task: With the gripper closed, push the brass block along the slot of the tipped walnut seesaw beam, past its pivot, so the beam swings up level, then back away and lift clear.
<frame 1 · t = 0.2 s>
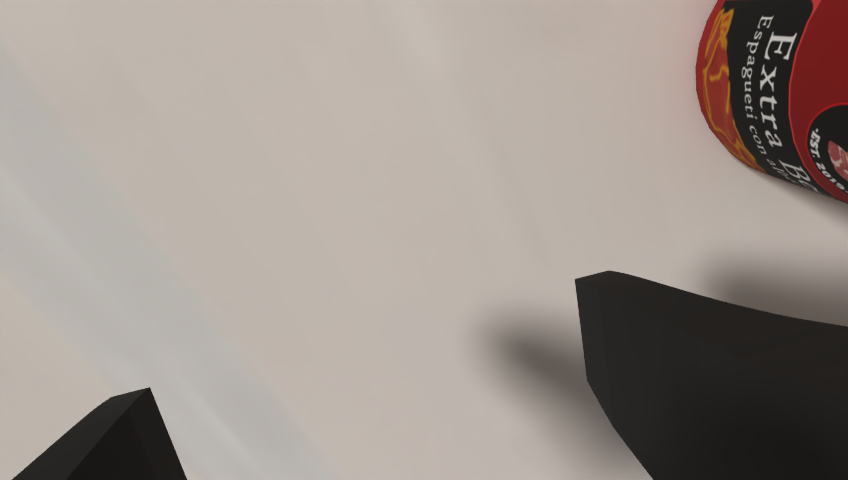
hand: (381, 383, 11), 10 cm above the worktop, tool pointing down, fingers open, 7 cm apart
canned food: (797, 53, 21), on the worktop
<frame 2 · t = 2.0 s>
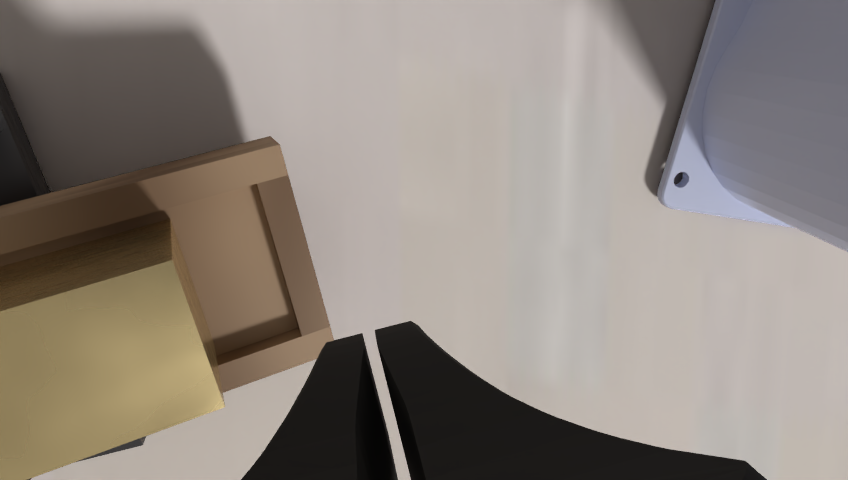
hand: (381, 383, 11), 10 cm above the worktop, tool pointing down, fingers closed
rider: (70, 320, 16), point 4 cm above the worktop, tilted 13°
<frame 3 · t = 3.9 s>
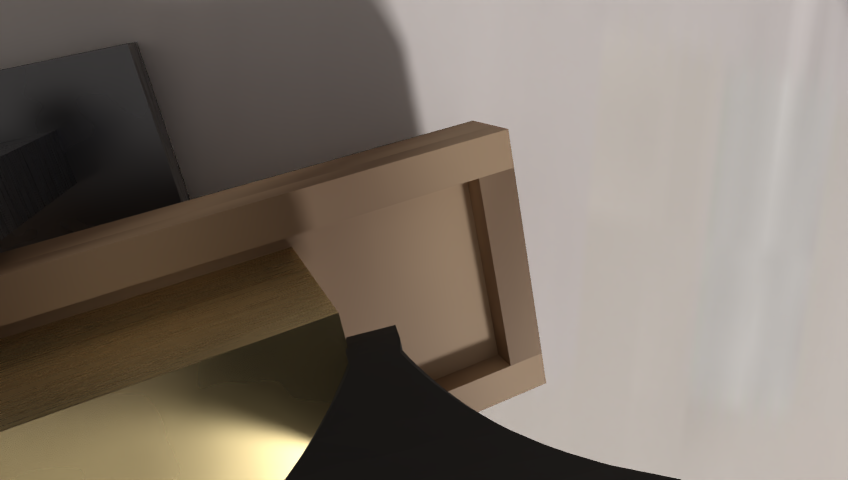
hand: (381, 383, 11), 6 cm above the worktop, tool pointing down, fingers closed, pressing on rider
beam: (33, 413, 12), point 4 cm above the worktop, hinge at -12.5°, touching rider
rider: (163, 382, 12), point 4 cm above the worktop, tilted 13°, touching beam, gripper
stand: (98, 313, 16), on the worktop
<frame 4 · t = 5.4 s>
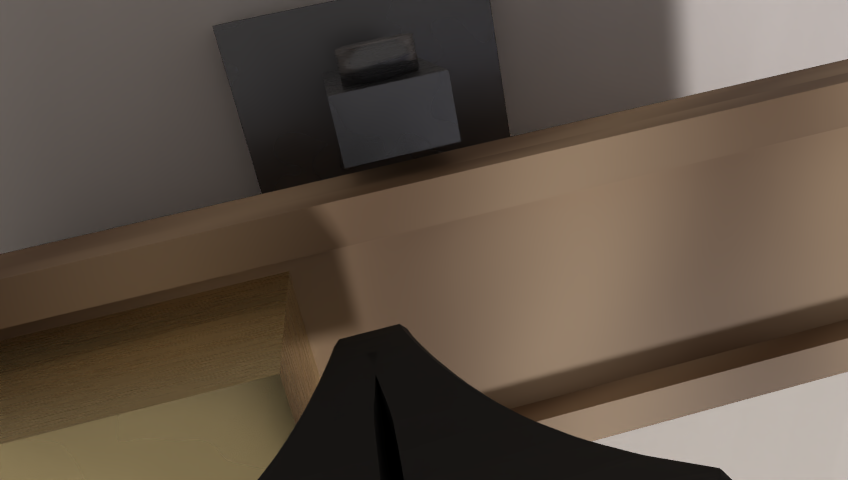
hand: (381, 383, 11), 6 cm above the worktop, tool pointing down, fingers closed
beam: (432, 313, 13), point 4 cm above the worktop, hinge at 0.5°, touching rider
rider: (152, 399, 12), point 5 cm above the worktop, touching beam, gripper
stand: (402, 240, 17), on the worktop
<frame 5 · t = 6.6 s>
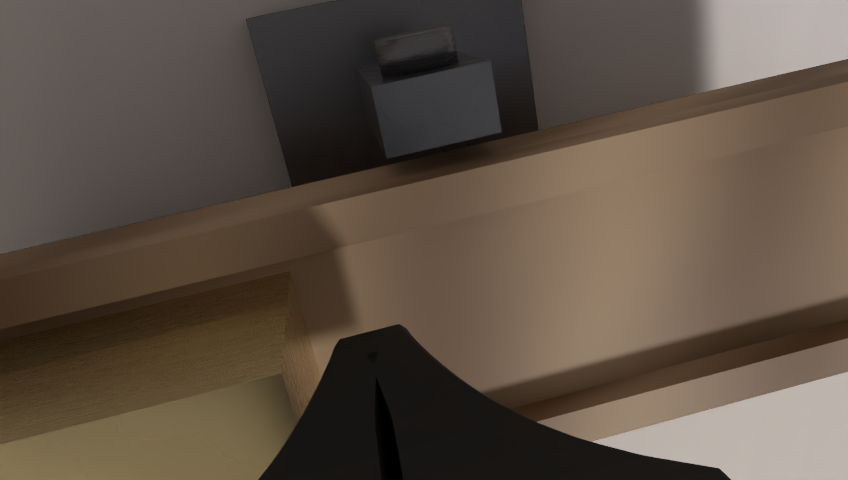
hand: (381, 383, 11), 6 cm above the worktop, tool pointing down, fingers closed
beam: (467, 304, 13), point 4 cm above the worktop, hinge at 0.5°, touching rider
rider: (153, 399, 12), point 5 cm above the worktop, touching beam, gripper
stand: (429, 234, 17), on the worktop
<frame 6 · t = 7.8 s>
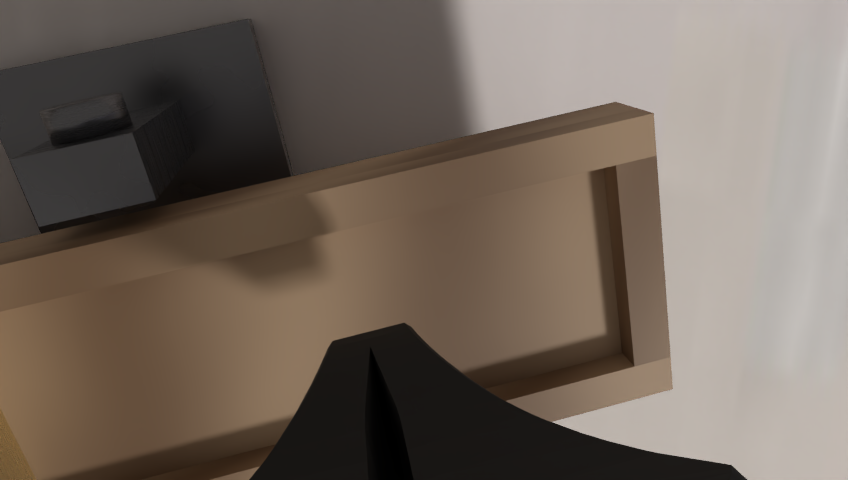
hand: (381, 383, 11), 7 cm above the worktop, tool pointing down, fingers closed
beam: (170, 358, 13), point 4 cm above the worktop, hinge at 0.5°, touching rider
stand: (202, 276, 17), on the worktop
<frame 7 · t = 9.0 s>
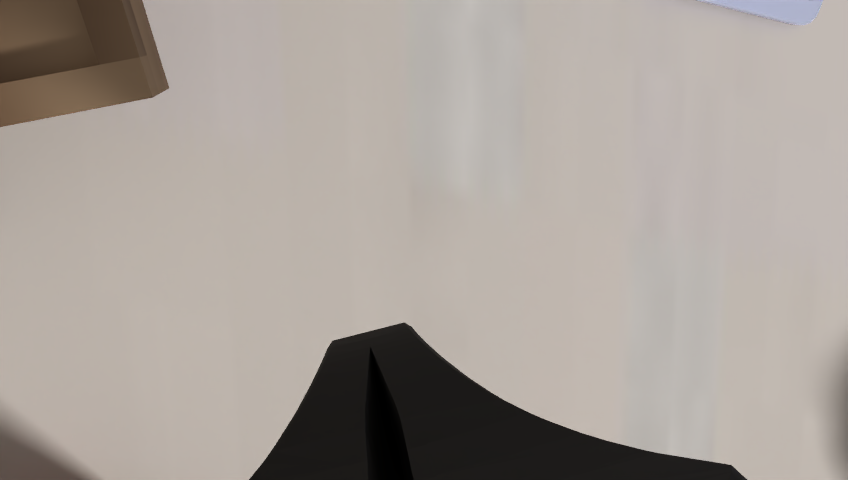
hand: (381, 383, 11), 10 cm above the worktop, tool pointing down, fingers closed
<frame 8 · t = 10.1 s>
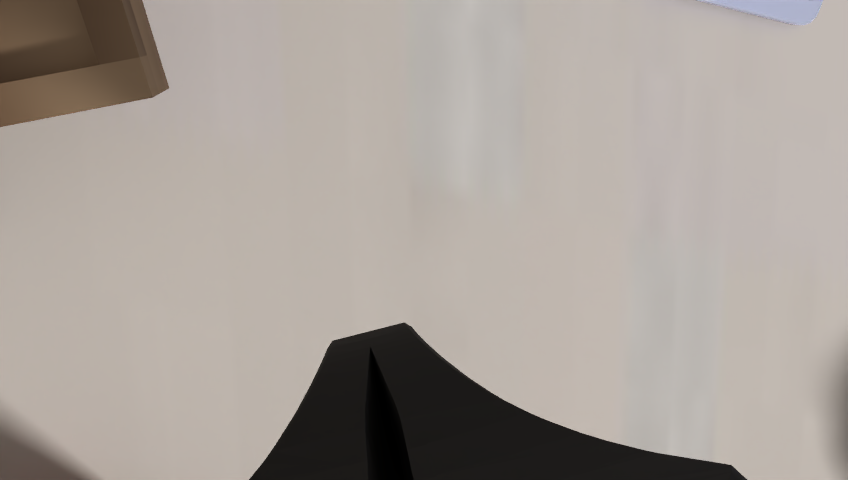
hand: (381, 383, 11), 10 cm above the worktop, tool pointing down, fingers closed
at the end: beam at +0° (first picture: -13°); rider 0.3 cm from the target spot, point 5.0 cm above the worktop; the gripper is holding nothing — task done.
